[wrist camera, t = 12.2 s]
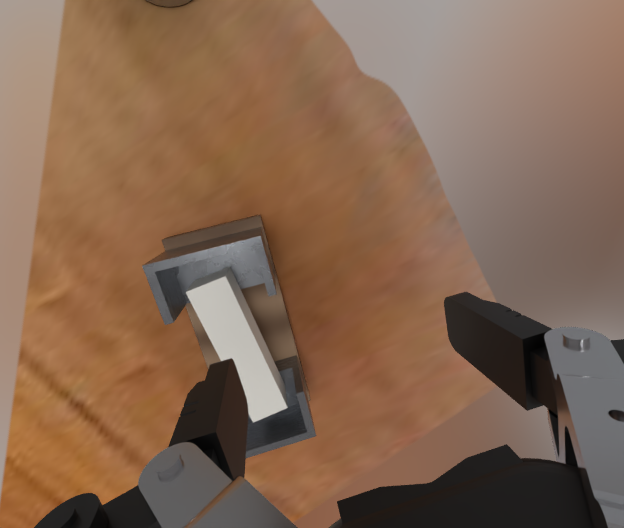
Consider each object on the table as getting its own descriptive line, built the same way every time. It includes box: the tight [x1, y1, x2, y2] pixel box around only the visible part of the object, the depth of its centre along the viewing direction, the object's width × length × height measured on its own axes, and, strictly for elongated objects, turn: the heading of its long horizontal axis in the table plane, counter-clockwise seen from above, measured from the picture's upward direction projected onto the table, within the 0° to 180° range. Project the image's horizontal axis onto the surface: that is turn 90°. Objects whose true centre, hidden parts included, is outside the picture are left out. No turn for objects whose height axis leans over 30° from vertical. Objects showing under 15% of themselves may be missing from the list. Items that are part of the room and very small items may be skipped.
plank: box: [162, 215, 310, 401], centre depth 39 cm, size 25×11×2 cm, turn 13°
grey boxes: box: [142, 227, 316, 458], centre depth 35 cm, size 23×11×8 cm, turn 13°
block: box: [186, 267, 288, 423], centre depth 34 cm, size 16×4×4 cm, turn 21°
